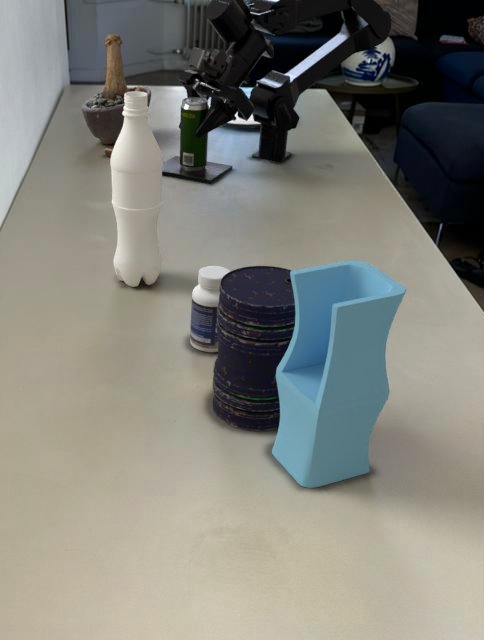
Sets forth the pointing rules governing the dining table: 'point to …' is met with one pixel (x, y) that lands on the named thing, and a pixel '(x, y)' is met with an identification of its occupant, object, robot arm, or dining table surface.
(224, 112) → the robot arm
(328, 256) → the dining table surface
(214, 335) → the pill bottle
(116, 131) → the planter
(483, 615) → the dining table surface
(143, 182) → the water bottle
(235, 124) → the plate
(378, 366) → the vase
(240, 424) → the storage jar
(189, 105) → the beer can
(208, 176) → the spatula
